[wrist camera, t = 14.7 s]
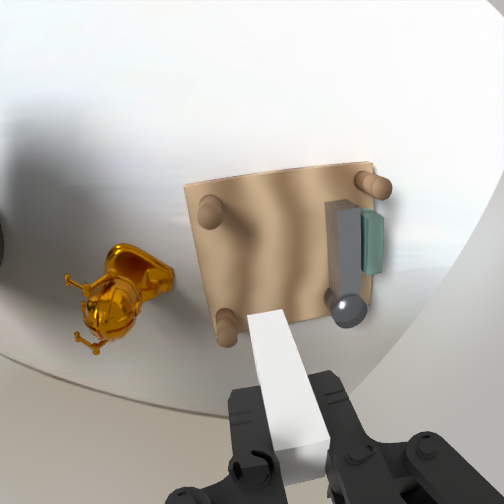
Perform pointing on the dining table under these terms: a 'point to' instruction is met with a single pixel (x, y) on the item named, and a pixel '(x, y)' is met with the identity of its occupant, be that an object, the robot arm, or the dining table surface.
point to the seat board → (278, 240)
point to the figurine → (120, 293)
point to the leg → (344, 263)
